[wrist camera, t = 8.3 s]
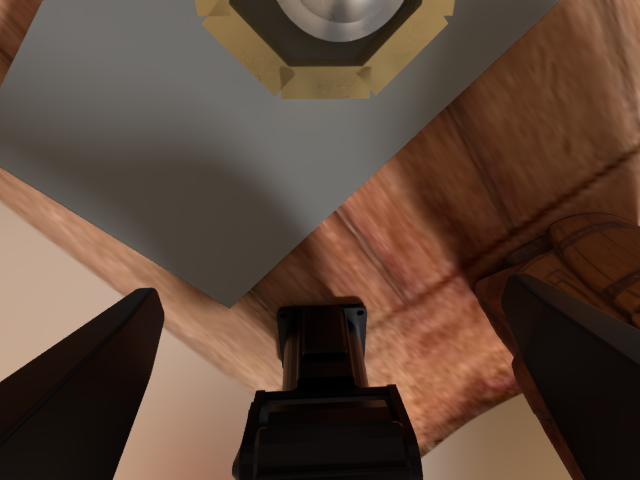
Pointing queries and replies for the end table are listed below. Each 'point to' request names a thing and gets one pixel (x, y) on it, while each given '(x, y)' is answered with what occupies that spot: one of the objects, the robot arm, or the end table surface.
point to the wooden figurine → (571, 289)
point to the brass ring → (326, 74)
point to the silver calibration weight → (339, 17)
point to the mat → (216, 127)
